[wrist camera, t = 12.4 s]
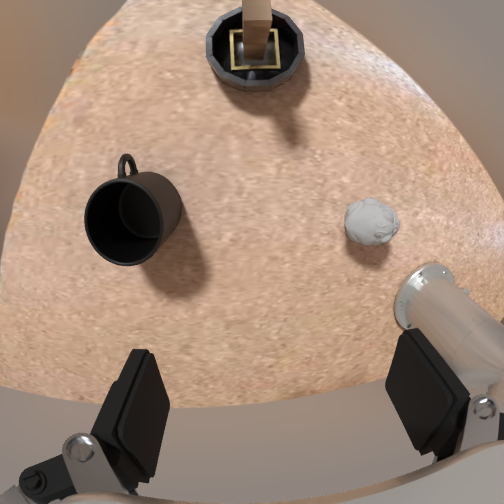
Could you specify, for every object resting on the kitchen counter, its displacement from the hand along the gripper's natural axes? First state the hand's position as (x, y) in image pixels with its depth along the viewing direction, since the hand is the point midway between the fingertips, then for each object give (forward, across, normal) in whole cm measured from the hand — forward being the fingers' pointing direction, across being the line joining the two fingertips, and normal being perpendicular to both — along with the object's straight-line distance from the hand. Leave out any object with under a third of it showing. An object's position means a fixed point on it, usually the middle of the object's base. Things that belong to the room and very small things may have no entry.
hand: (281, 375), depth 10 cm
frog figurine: (+28, -14, +1) cm, 32 cm away
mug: (+28, +14, -3) cm, 32 cm away
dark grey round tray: (+28, -1, -21) cm, 35 cm away
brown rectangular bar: (+28, -1, -21) cm, 35 cm away
